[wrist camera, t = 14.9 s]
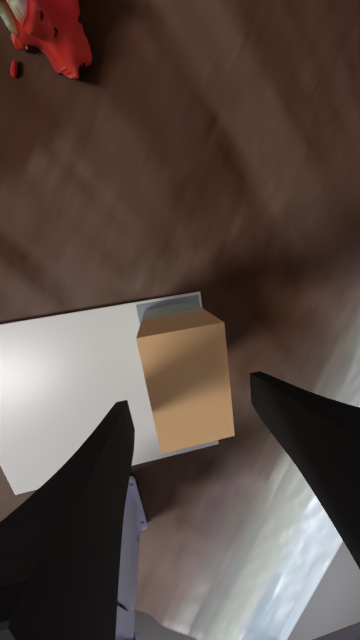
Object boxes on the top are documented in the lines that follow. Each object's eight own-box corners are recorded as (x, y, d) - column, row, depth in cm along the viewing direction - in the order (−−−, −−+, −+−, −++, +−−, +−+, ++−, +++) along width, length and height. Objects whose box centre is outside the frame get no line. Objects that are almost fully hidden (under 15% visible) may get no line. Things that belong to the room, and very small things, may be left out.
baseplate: (217, 440, 24) (219, 444, 24) (18, 489, 22) (14, 495, 21) (198, 291, 20) (200, 291, 19) (-58, 333, 17) (-67, 335, 17)
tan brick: (213, 394, 17) (234, 435, 12) (159, 406, 16) (161, 453, 12) (203, 309, 15) (224, 322, 10) (141, 319, 14) (135, 338, 10)
